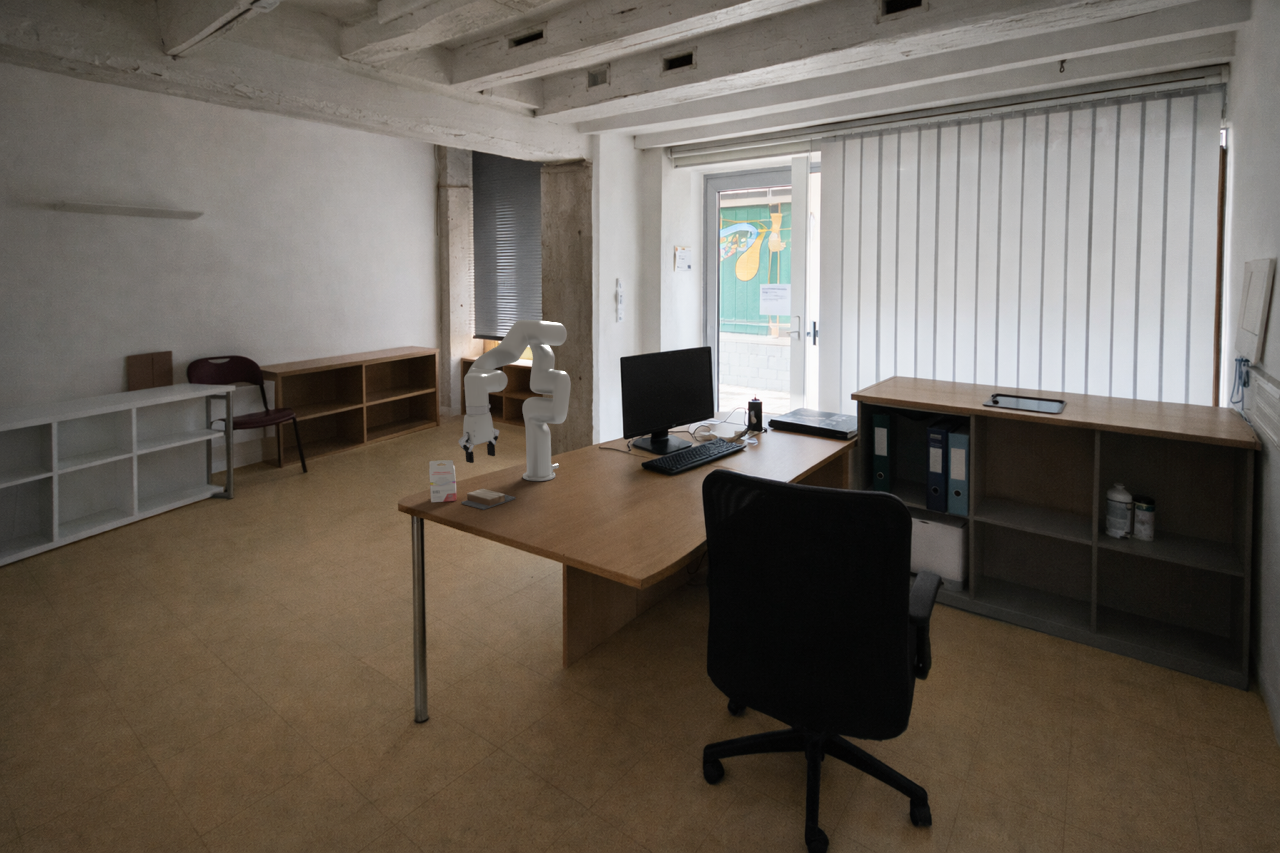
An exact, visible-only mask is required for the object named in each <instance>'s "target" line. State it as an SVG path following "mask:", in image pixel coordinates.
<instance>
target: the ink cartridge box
mask: <svg viewBox="0 0 1280 853" xmlns="http://www.w3.org/2000/svg"><path fill="white" fill-rule="evenodd" d="M428 464H429V466H428V467H429V470H428V473H429V474H428V476H429V489H430V501H431V502H430V503H441V502H443V503H444V502H457V496H458V495H457V482H456V481H457V480H456V478H457V477H456V466H455V465H454V460H452V459H449V460H446V459H445V460H430V461H429V463H428ZM441 464H443V465H441Z"/></svg>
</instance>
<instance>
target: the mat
mask: <svg viewBox="0 0 1280 853" xmlns="http://www.w3.org/2000/svg"><path fill="white" fill-rule="evenodd" d="M513 500H517V499H516V496H512V495H508V494H505V501H503V502H500V503H497V504H494V505H491V506H488V505H484V504H480V503H476V502H473V501H469V500H468V499H466V500H464V501H461V502H460V503H461V504H462V505H463V506H464V505H465V506H468V507H473V508H476V509H479V510H488V509H490V508H492V507H495V506H499V505H501V504H505V503H508V502H511V501H513Z"/></svg>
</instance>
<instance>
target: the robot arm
mask: <svg viewBox="0 0 1280 853" xmlns="http://www.w3.org/2000/svg"><path fill="white" fill-rule="evenodd" d="M567 335H568V332H567V329H566V327H565V325H563V324H562V323H560V322H554V321H553V322H552V321H546V320H539V319H538V320H537V319H535V320H534V319H533V320H532V319H530V320H529V319H521V320H520V319H519V320H517V321H515V322H514V323H513V325H512V326H511V328H510V329H509V330H508V332H507V333H506V334H505V336H504V337H503V339H502V340H501V341H500V343H499V344H498V345H497V346H495V347H493V348H491V349H489V350H488V351H486V352H484V353H482V354H481V355H480V356H479V357H477V358H476V360H474V362H473V363H472V364H471V366H470V367H469V369H468V371H467V373H466V374H465V376H464V378H463V381H464V382H463V383H464V396H465V397H464V398H465V410H466V414H464V418H463V428H462V429H463V430H462V431H463V432H462V436H461V437H460V438H459V439H458V444H459V446H460V448H461V449H463V451H464V452H465V461H466V463H469V464H473V463H475V459H474V458H475V457H474V456H475V455H474V451H473V449H474V446H477V445H481V444H484V443H486V450H487V451H486V452H487V456H489V457H495V456H496V444H497V441H498V439H499V435H500V430H499V429H497V428H494V423H493V418H492V415H491V412H490V408H491V404H490V403H489V402H490V401H489V393H499V392H501V391H503V390H504V389H505V388H507V385H508V381H509V379H508V376H507V374H506V373H505V372H504V371H502V370H500V369H499V370H498V369H496V368H501V367H503V366H509V365H511V364H513V363H516V362H518V361H519V360H520V359H521V357H522V355H523V354H524V352H525V351H526V349H527V348H528V347H529V349H530V350H531V354H532V363H531V369H530V370H531V372H530V379H529V380H530V381H529V389H530V390H531V391H532V392H533V393H535V394H541V395H551V396H552V397H551V398H550V397H544V396H543V397H541V396H532V397H528V398H527V399H525V400H524V402H523V403H522V414H523V415H522V416H523V420H524V426H525V446H526V447H525V450H526V453H525V454H526V458H525V459H526V472H524V473H523V474H522V478H523V479H524V480H526V481H529V482H530V481H531V482H545V481H550V480H553V479H555V478H556V473H555V471H554V470H557V469H558V468H559V467H560V466H559V463H557V462H556V463H554V464H553V463H552V445H551V444H552V442H551V441H552V439H551V438H552V436H551V430H550V427H549V426H548V424H554V425H555V424H556V425H560V424H563V423H564V422H565V421H566V419H567V416H568V412H569V403H570V396H571V386H572V384H571V378H570V375H569V374H568V373H567V372H566V371H564V370H559V369H558V370H557V369H555V362H556V356H555V353H554V351H553V349H552V348H551V346H553V347H554V346H555V347H557V346H562V345H564V343H565V342H566V340H567V338H568V337H567Z"/></svg>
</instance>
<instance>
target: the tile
mask: <svg viewBox="0 0 1280 853" xmlns="http://www.w3.org/2000/svg"><path fill="white" fill-rule="evenodd" d="M466 494H467V499H466V500H469V501H473V502H476V503H480V504H484V505H488V506H491V505H494V504H497V503H500V502H503V501H505V495H506V494H505V493H502V492H498V491H493V490H490V489H485V488H480V489H477V490H474V491H470V492H467V493H466Z"/></svg>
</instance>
